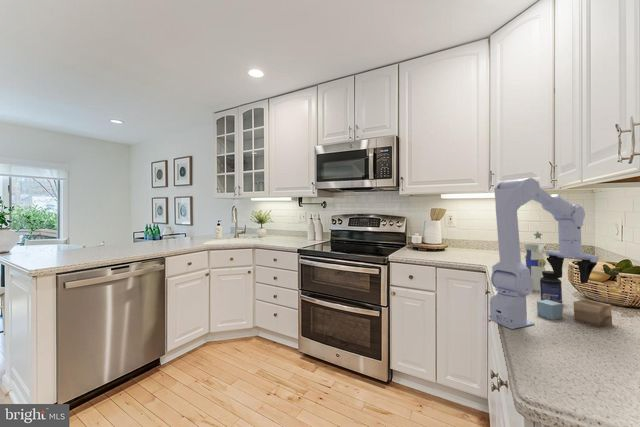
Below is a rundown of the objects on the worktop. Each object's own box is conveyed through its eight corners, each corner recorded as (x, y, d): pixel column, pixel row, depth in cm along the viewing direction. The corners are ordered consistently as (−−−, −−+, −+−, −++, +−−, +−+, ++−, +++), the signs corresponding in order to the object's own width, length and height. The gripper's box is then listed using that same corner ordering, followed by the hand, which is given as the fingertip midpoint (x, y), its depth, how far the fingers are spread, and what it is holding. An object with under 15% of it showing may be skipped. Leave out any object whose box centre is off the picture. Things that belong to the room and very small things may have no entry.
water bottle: (554, 290, 116) (552, 230, 116) (536, 291, 115) (534, 231, 115) (536, 285, 125) (534, 229, 125) (519, 286, 123) (517, 230, 123)
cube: (552, 319, 86) (552, 305, 86) (537, 315, 91) (537, 301, 91) (562, 317, 88) (562, 303, 88) (547, 313, 92) (546, 299, 92)
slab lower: (599, 328, 80) (598, 318, 80) (574, 321, 86) (574, 311, 86) (612, 325, 82) (611, 315, 82) (587, 318, 87) (586, 308, 87)
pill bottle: (566, 304, 99) (565, 273, 99) (546, 304, 100) (545, 273, 100) (555, 299, 105) (554, 270, 105) (537, 299, 106) (536, 270, 106)
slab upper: (598, 318, 80) (597, 307, 80) (573, 311, 86) (573, 301, 86) (611, 315, 82) (611, 305, 82) (586, 308, 87) (586, 299, 87)
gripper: (604, 241, 88) (606, 284, 88) (555, 237, 102) (556, 274, 102) (588, 242, 86) (590, 286, 86) (540, 238, 100) (542, 276, 100)
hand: (571, 280), depth 94 cm, fingers open, 7 cm apart
